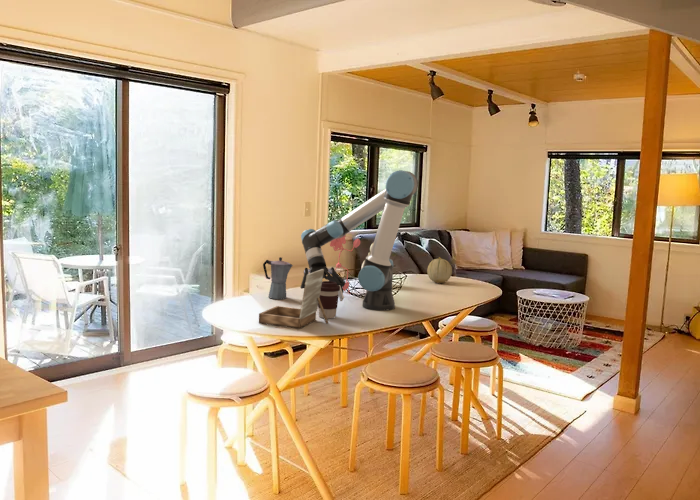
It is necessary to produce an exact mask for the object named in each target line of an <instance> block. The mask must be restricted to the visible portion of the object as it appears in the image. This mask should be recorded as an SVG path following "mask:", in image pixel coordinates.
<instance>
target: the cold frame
mask: <svg viewBox="0 0 700 500" xmlns="http://www.w3.org/2000/svg"><path fill="white" fill-rule="evenodd" d="M323 273H324V269H321V270H318V271H315V272H312V273H310V272H309V274H307V276H306V282H305V288H303V295H302V300H301V305H300V306H301V307H300V308H297V307H296V308H295V307H288V306H281V305H276V306H273V307H272V308H269V309H267V310H264V311H262V312H260V313H258V324H260V323H262V324H261V325H267V324H268V325H267V326H276V327H281V328H283V327H284V328H290V329H297V330H301V329H303V328H304V327H306V326H309V325H310V324H312V323H313V322H315V321H316V319H317V312H318V309H319V307H318V303H319V305H320V308H321V311H322V314H323V316H324V318H323V320H324V321H325V324H329V319H327V317H326V315H325V312H324V309H323V306H322V304H321V301H320V298H319V296H320V291H321V285H322V282H323V279H324V278H323Z"/></svg>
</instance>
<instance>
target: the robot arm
mask: <svg viewBox="0 0 700 500" xmlns="http://www.w3.org/2000/svg"><path fill="white" fill-rule="evenodd" d="M418 180H419V179H418V178H417V176H416V175H415V174H414V173H413V172H412V171H411V172H410V171H408V170H401V169H399V170H395V171H393V172H392V173H391V174H389V176H387V179H386V181H385V188H384V189H383V190H381V191H380V192H378V193H377V194H375V195H374V196H371V198H369V199H368V200H366V201H364V202H363V203H362V204H360V205H358V206H357V207H356V208H354V209H353V210H350V212H348V213H346V215H344V216H342V217H341V218H338V219H337V220H336V219H334V220H332V221H330V222H328V223H326V224H325V225H323V226H321V227H320V228H318V229H313V228H309V229H305V230H303V231H302V233H301V235H300V238H301V243H302V245H303V250H304V253H305V257H306V260H307V264H308V267H309V268H308V267H305V268H304V270H303V277H302V280H301V283H300V289H303V290H304V288H305V282H306V276H307V274H309V273H312V272H315V271H318V270H321V269H324V273H323V279H325V281H326V280H327V281H332V282H336V283H337V285H338V286H340V290H339V291H338V299H339V302H343V300H344V298H345V297H344V292H345V291H344V290H343V287H344V285H345V283H346V281H344V279H343V278H342V277H341V276H340V275H339V273H338V272H337V271H336V270H335V268H334V267H333V266H332V267H331V268H328V267H327V263H326V260H325V256H324V253H323V249H322V247H323V246H325V245H326V244H328V243H331V242H330V241H332V240H335V239H338V238H342V237H344V236H345V235H347V234H348V233H350V232H351V231H353V230H355V229H356V228H358V227H360V226H361V225H362V224H364V223H365V222H366V221H368V220H370V219H371V218H373V217H374V216H376V215H377V214H379V213H380V212H382V211H383V212H382V215H381V218H380V220H379V224H378V228H377V230H376V234H375V236H374V237H375V238H374V241H373V243H374V244H373V247H372V250H371V252H370V253H371V254H370V255H368V254H367V256H365V259H364V260H365V262H364V261H363V262H364V265H363V268H362V269H360V270H359V272H358V274H357V275H358V276H357V278H358V283H359V285H360V286H361V287H362V288H363V289H364V290H366V291H365V295H364V297H363V300H362V305H361V306H362V308H364V309H367V310H372V311H391V310H394V309H395V307H396V303H395V299H394V295H393V276H394V267H395V266H394V261H393V259H391V258H390V257H391V254H392V252H393V248H394V245H395V241H396V238H397V235H398V232H399V229H400V225H401V222H402V218H403V215H404V212H405V209H406V208H407V207H409V206H410V204H411V201H412V198H413V196H414V195H415V193H416V192H418V188H419V181H418Z"/></svg>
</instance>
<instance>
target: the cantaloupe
mask: <svg viewBox="0 0 700 500" xmlns="http://www.w3.org/2000/svg"><path fill="white" fill-rule="evenodd" d="M426 273H427V277H428V278H429V279H430V281H432V282H433V283H436V284H444V283H446V282H448V281H449V280H450V278H451V277H452V275H453V266H452V265H451V263H450V262H449V261H448V260H446V259H444V258H441V257H440V256H439V257H438V258H434V259H432V260H431V262H429V264H428V265H427V270H426Z"/></svg>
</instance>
